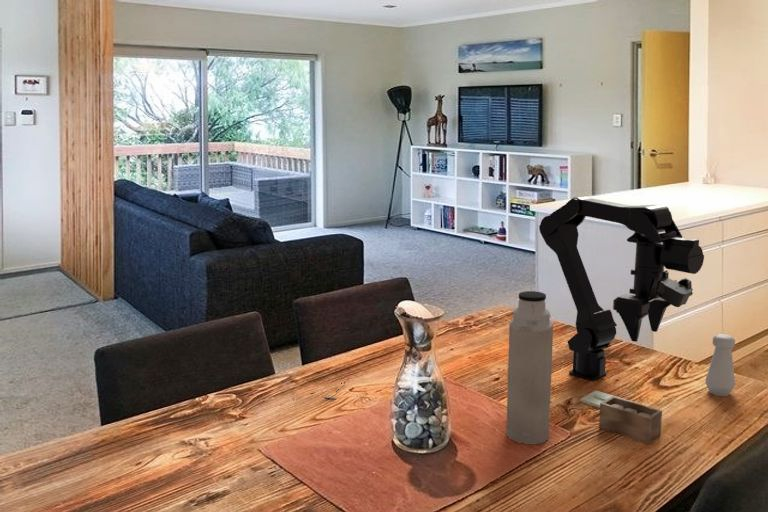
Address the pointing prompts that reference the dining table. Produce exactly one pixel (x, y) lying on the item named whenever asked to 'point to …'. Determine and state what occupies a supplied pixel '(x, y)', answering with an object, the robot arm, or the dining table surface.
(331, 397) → the fork
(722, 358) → the salt shaker
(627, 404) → the box
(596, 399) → the lid
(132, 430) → the dining table surface
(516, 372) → the thermos bottle
